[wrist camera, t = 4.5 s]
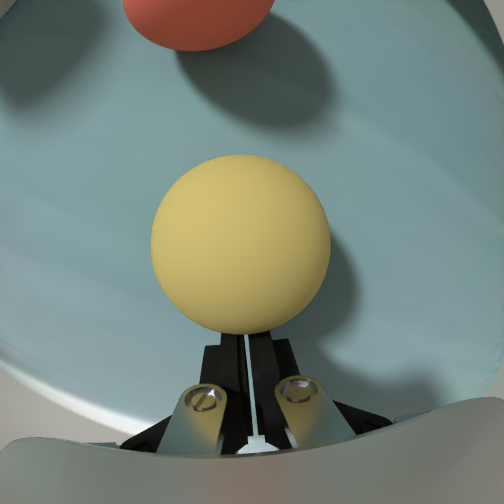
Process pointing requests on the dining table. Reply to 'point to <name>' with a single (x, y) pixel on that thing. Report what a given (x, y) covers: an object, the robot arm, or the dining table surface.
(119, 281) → the dining table surface
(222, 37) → the red ball
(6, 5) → the cup
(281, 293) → the ochre ball
